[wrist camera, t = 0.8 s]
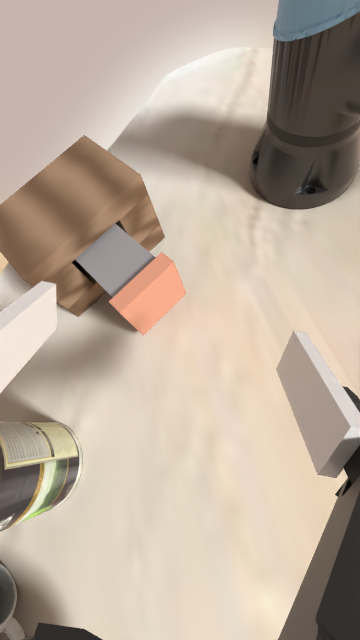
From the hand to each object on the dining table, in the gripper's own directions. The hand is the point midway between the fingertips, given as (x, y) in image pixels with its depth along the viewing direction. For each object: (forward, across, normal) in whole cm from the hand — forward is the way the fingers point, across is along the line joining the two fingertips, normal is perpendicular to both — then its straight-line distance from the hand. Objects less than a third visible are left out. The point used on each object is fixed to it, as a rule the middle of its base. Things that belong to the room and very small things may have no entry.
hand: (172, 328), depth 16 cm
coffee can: (+9, -12, -28) cm, 32 cm away
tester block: (+31, -13, -7) cm, 34 cm away
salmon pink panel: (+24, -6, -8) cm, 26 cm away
